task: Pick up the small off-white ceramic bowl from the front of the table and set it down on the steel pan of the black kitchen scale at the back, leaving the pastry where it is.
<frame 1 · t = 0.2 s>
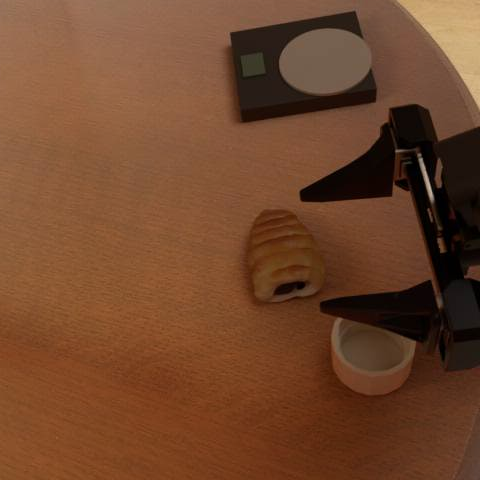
hand: (309, 249, 53), 14 cm above the table, tool horizontal, fingers open, 9 cm apart
pastry: (282, 266, 69), on the table
scale: (300, 72, 82), on the table
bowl: (370, 361, 63), on the table
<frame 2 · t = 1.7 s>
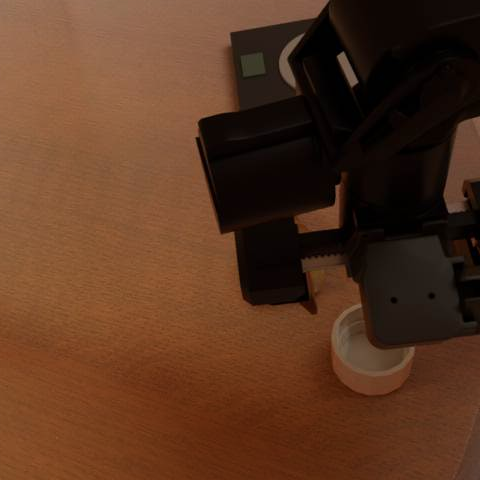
hand: (377, 301, 54), 11 cm above the table, tool pointing down, fingers open, 9 cm apart
nothing on the table moved.
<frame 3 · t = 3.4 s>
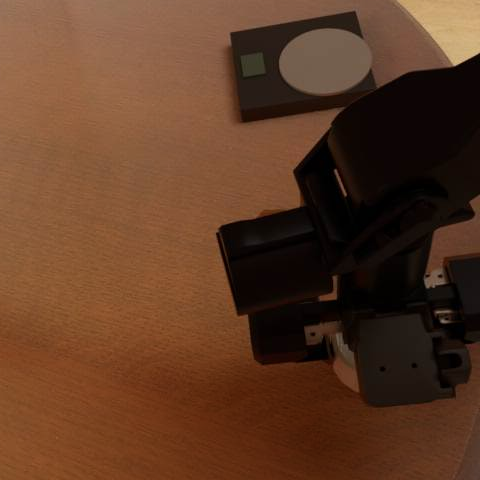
hand: (371, 355, 62), 1 cm above the table, tool pointing down, fingers closed on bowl, 6 cm apart
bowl: (370, 361, 63), on the table, touching gripper
everything else where it was.
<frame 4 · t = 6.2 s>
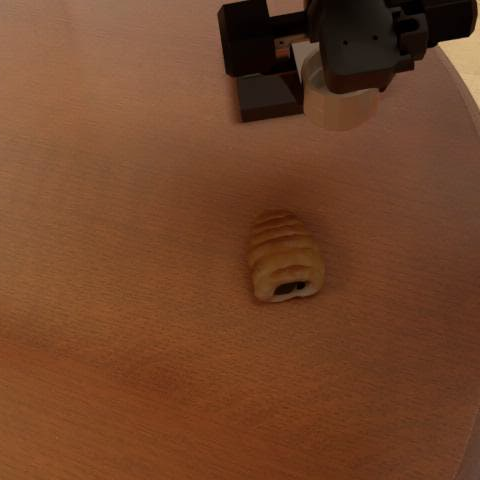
hand: (339, 95, 64), 11 cm above the table, tool pointing down, fingers closed on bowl, 6 cm apart
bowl: (339, 105, 65), point 10 cm above the table, touching gripper
everything else where it was.
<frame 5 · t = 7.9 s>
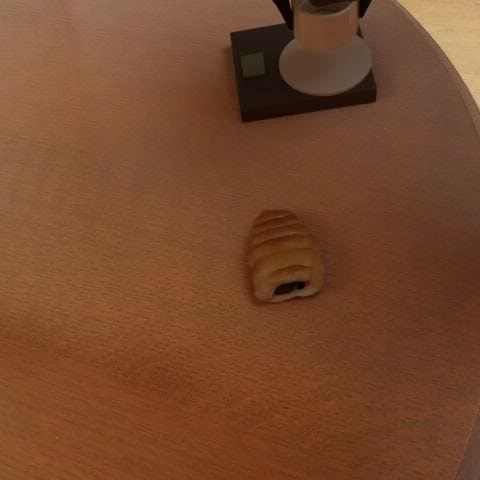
hand: (324, 21, 75), 8 cm above the table, tool pointing down, fingers closed on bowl, 6 cm apart
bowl: (325, 31, 76), point 6 cm above the table, touching gripper
everything else where it was.
when the fingers open (4 cm above the table, at t = 9.4 s): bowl stays where it is, resting on scale.
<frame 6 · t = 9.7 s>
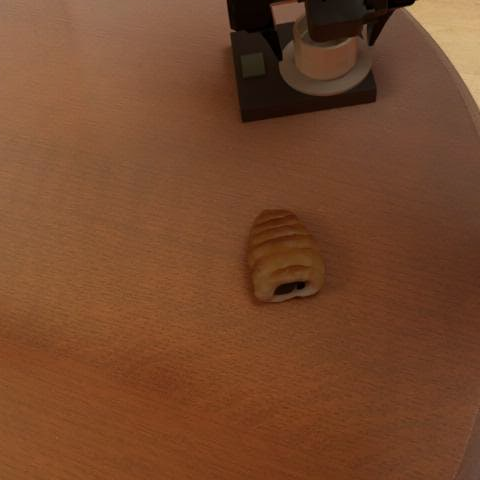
hand: (324, 51, 78), 4 cm above the table, tool pointing down, fingers open, 9 cm apart
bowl: (325, 60, 79), point 2 cm above the table, touching scale
everything else where it was.
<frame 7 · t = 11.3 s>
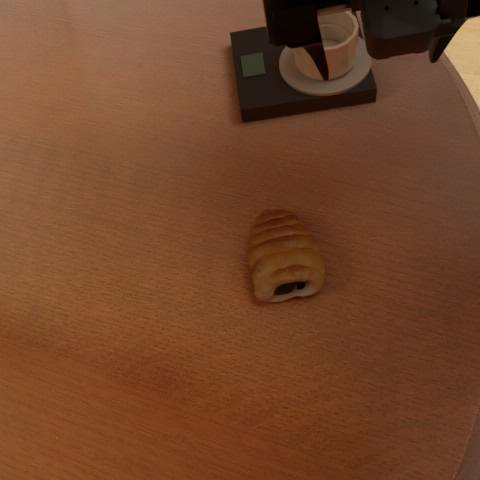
hand: (378, 68, 66), 11 cm above the table, tool pointing down, fingers open, 9 cm apart
nothing on the table moved.
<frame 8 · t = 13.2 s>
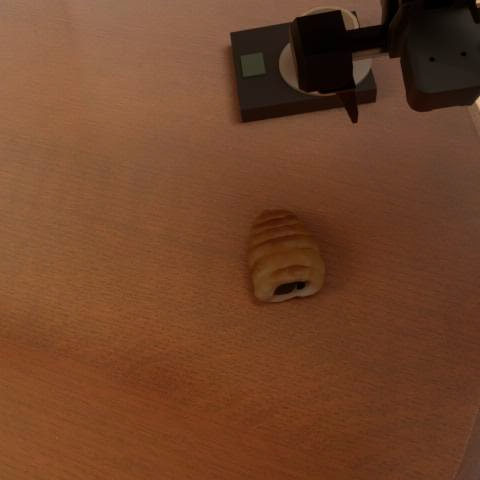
hand: (410, 110, 62), 11 cm above the table, tool pointing down, fingers open, 9 cm apart
nothing on the table moved.
at the end: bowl 0.1 cm from the target spot on the scale, point 2.4 cm above the scale's base; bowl tilted 0°; the gripper is holding nothing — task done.
